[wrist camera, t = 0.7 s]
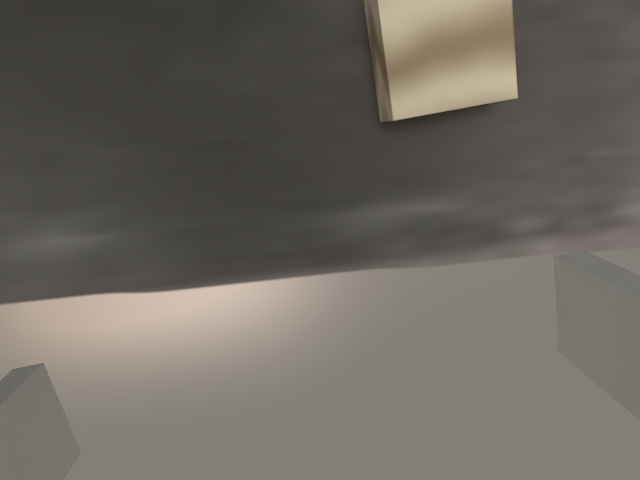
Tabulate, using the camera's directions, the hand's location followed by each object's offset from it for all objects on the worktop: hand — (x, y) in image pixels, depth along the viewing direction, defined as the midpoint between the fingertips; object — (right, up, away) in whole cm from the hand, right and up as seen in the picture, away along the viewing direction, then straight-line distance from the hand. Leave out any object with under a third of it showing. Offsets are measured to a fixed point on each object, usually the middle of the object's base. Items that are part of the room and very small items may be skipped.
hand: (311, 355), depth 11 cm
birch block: (+9, +18, +23) cm, 31 cm away
